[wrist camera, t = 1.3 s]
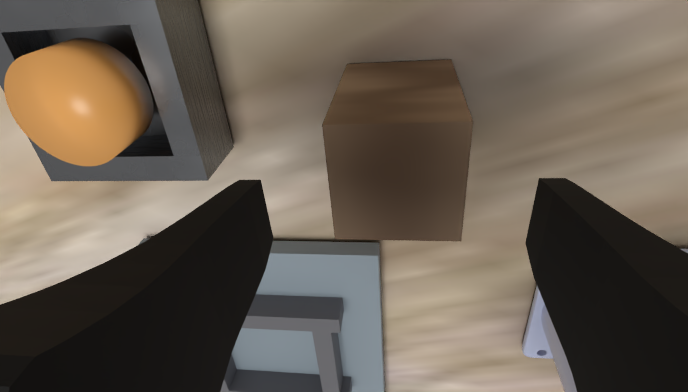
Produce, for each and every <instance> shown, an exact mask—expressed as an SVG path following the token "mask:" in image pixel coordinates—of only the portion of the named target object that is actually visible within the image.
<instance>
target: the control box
mask: <svg viewBox="0 0 688 392" xmlns="http://www.w3.org/2000/svg"><path fill="white" fill-rule="evenodd" d="M74 38H89V39H94V40H98V41H101V42H103V43H106V44H108V45H110V46H112V47H113V48H115V49H117V50H118V51H120V52H121V53H122V54H124V55H125V56H126V57H127V58H128V59H129V60H130V61H131V62H132V63H133V64H134V65H135V66H136V67H137V69H138V70H139V71H140V72H141V74H142V75H143V77H144V79H145V81H146V82H147V84H148V87H149V89H150V92H151V95H152V99H153V111H154V112H153V118H152V122H151V124H150V126H149V128H148V129H147V131H146V132H145V133H144V134H143V135H142V136H140V137H139V138H138V139H137V140H135V141H134V142H133V143H132V144H130V145H129V146H128V147H127V148H125V149H124V150H123V151H122V152H120V153H119V154H118V155H117V156H115V157H114V158H113V159H112V160H110V161H109V162H107V163H104V164H102V165H98V166H79V165H74V164H71V163H67V162H65V161H62V160H60V159H58V158H56V157H54V156H52V155H51V154H49V153H47V152H46V151H44V150H43V149H42V148H40V147H39V146H38V145H37V144H35V143H34V142H33V141H32V140H31V139H30V138H29V137H28V138H29V140H30V142H31V143H32V145H33V147H34V149H35V151H36V153H37V155H38V157H39V158H40V160H41V162H42V164H43V166H44V168H45V170H46V172H47V173H48V175H49V177H50V179H51V181H195V180H209V178H210V177H211V176H212V174H213V173H214V172H215V170H216V169H217V168H218V167H219V165H220V164H221V163H222V161H223V160H224V159H225V157H226V156H227V155H228V154H229V152H230V151H231V150H232V148H233V147H234V146H233V142H232V138H231V134H230V130H229V126H228V122H227V118H226V113H225V109H224V105H223V101H222V97H221V93H220V89H219V85H218V81H217V77H216V72H215V68H214V64H213V60H212V56H211V52H210V48H209V44H208V40H207V36H206V31H205V27H204V23H203V19H202V15H201V11H200V7H199V3H198V0H0V85H1V87H2V89H3V91H4V80H5V75H6V72H7V70H8V68H9V66H10V65H11V64H12V63H13V62H14V61H15V60H16V59H17V58H19V57H21V56H23V55H26V54H29V53H31V52H34V51H37V50H40V49H43V48H46V47H49V46H52V45H55V44H58V43H61V42H64V41H67V40H70V39H74ZM4 93H5V91H4Z"/></svg>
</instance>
